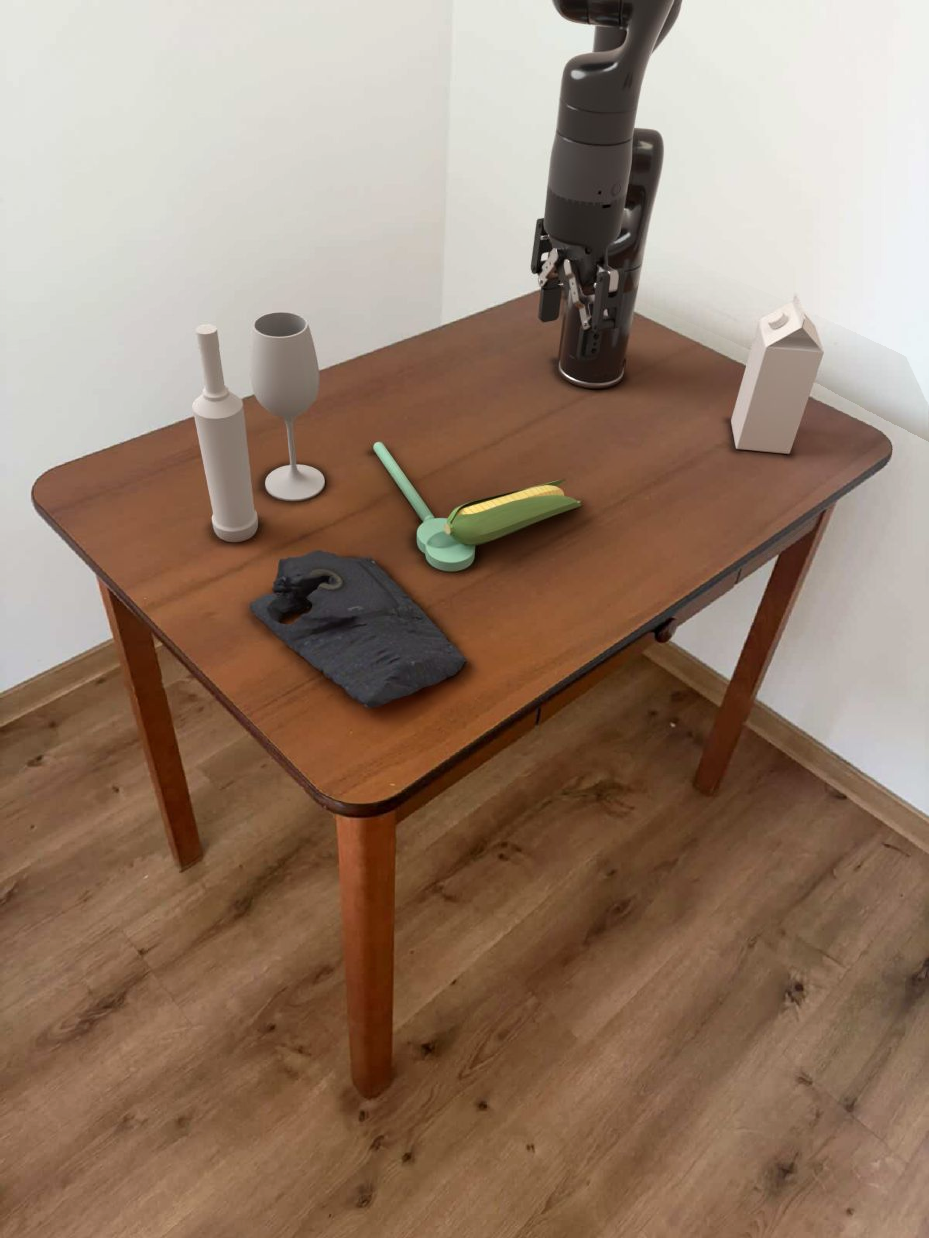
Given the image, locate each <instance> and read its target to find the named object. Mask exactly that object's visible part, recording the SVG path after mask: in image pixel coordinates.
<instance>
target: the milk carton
mask: <svg viewBox="0 0 929 1238" xmlns="http://www.w3.org/2000/svg"><path fill="white" fill-rule="evenodd" d="M800 301H801V300H800V298H799V295H798V292H795V293H794V295H793V299H792V300H791V301H789V302H788V303H786V304H784V305H782V306H780V307H779V308H777V309H776V310H774V311H772V312H771V313H768V314H766V315H765V316H763V317H761V318H760V319H759V320H758V322H757V326H756V330H755V333H754V336H753V341H752V344H751V347H750V351H749V353H748V359H747V362H746V366H745V368H744V372H743V377H742V379H741V383H740V387H739V391H738V394H737V398H736V401H735V405H734V408H733V412H732V416H731V419H730V423H731V429H732V434H733V440H734V445H735V449H737V450H744V451H745V450H746V451H747V450H748V451H755V452H765V453H776V454H785V455H786V454H787V455H789V454H791V451H792V448H793V445H794V442H795V439H796V436H797V433H798V430H799V428H800V424H801V421H802V418H803V416H804V413H805V410H806V406H807V404H808V400H809V397H810V395H811V392H812V389H813V386H814V383H815V380H816V376H817V373H818V372H819V368H820V365H821V362H822V359H823V356H824V353H825V352H824V347H823V346H822V343H821V339H820V336H819V334H818V331H817V327H816V326H815V323H814V322H813V321H812V319H810V317H809V316H808V315H807V314H806V313H805V312H804V310H803V307H802V304H801V302H800Z"/></svg>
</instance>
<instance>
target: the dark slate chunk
mask: <svg viewBox="0 0 929 1238" xmlns="http://www.w3.org/2000/svg"><path fill="white" fill-rule="evenodd" d="M275 575H276V576H275V580H274V581H273V585H272V589H271V591H272V592H273V593H265V594H263V595H262V596H260V597H257V598H255V599H254V600H252V601H250V602H249V610H250V612H253V613H254V615H255V616H256V617H257V619H259V620H260V621H262V622H263V623H264V624H265V626H266V627H268V629H270V630H271V631H272V632H273V633H274V634H275V635H276V636H277V637H278V638H279V639H280V640H281V642H285V644H286V646H287V647H289V648H290V649H293V650H294V652H295V653H296V654H299V655H300V657H302V658H304V659H305V660H306V661H307V662H308V663H309V664H310V665H311V666H312V667H313V668H314V669H315V670H318V671H319V672H321V673H323V674H324V676H325V677H326V678H327V679H329V680H331V681H332V682H333V683H335V684H336V685H337V686H338V687H339V688H341V689H343V690H345V692H346V693H347V694H348V695H349V696H350V697H351V698H352V699H353V700H354V701H355V702H358V703H359V704H361V705H363V706H364V707H365V708H369V709H376V708H378V707H381V706H383V705H385V704H388V703H390V702H392V701H395V700H398V699H401V698H403V697H407V696H411V695H412V694H414V693H417V692H418V691H420V690H422V689H423V688H428V687H429V688H430V687H433V686H436V685H437V684H439V683H440V682H443V681H444V680H446V679H447V678H451V677H453V676H456V674H457V673H458V672H460V671H461V669H462V668H463V665H465V664H467V663H468V662H469V661H468V659H467V658H466V657H465V656H464V654H463V653H462V652H461V651H460V649H459V648H458V647H456V645H454V644H453V643H452V642H450V641H449V640H448V639H447V636H446V635H445V634H444V633H442V632H441V629H440V628H439V627H438V626H436V625H435V624H434V622H433V621H432V620H431V619H430V617H428V616H427V613H425V611H424V610H422V609H421V607H419V605H417V604H416V603H415V602H414V601H412V598H411V597H410V596H409V594H408V593H405V592H404V590H403V589H402V588H401V587H400V586H399V585H398V583H396V582H395V581H394V580H393V579H391V578H390V576H389V575H388V574H387V572H386V571H385V570H383V569H382V568H381V567H380V566H379V565H378V564H377V563H376V561H374V560H373V558H372V557H371V556H368V557H357V558H356V557H349V558H348V557H340V555H337V554H336V553H334V552H329V551H324V550H322V549H317V550H313V551H310V552H307V553H305V554H302V555H299V556H288V557H286V558H280V559H279V561H278V567H277V572H276V574H275ZM310 607H311V608H310ZM309 608H310V611H307V612H306V613H302V614H301V615H300V617H299V618H297V619H295V620H294V624H287V623H280V622H281V621H282V619H283V618H285V617H289V616H291V615H292V614H295V613H301V612H302V611H305V610H308V609H309Z"/></svg>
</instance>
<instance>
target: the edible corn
mask: <svg viewBox="0 0 929 1238" xmlns="http://www.w3.org/2000/svg"><path fill="white" fill-rule="evenodd" d="M564 482H566V479H565V478H562V479H558V480H554V481H551V482H546V483H542V484H539V485H534V486H531V487H526V488H523V489H518V490H514V491H510V492H506V493H501V494H497V495H491V496H487V497H484V498H480V499H475V500H471V501H469V502H466V503H464V504H461V505H458V506H457V507H455V508H454V509H453V510H452V511H451V513H450V514H449V516H448V517H447V518H446V519H447V523H446V524H445V525H444V530H445V532H446V534H448V535H451V536H452V538H453V539H454V540H456V541H457V542H458V543H460V544H463V545H467V546H475V547H476V546H479V545H484V544H487V543H489V542H491V541H496V540H497V539H500V538H502V537H505V536H507V535H511V534H512V533H515V532H517V531H520V530H522V529H525V528H527V527H530V526H532V525H535V524H537V523H540V522H542V521H544V520H547V519H549V518H551V517H554V516H556V515H559V514H562V513H565V512H568V511H570V510H573V509H576V508H579V507H583V504H581V500H576V499H575V498H574V497H572V496H566V495H565V493H564V490H563V489H561V488H560V487H558V486H559V485H560V484H562V483H564Z"/></svg>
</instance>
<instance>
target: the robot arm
mask: <svg viewBox="0 0 929 1238" xmlns="http://www.w3.org/2000/svg"><path fill="white" fill-rule="evenodd" d="M551 2H552V5H553V8H554V9H555V11H556V13H557V14H559V16H560V17H561V18H562V19H564V20H566V21H568V22H571V23H573V24H574V23H575V24H580V25H588V26H594V33H593V40H592V41H593V43H592V52H587V53H582V54H578V55H575V56H573V57H572V58H570V59H568V61H567V62H566V64H565V66H564V67H563V71H562V73H561V80H560V89H559V99H558V105H557V106H558V107H557V116H556V117H557V118H556V125H555V126H556V128H555V133H554V139H553V143H552V146H551V147H552V148H551V150H550V158H549V166H548V167H549V168H548V177H547V186H546V195H545V198H546V199H545V206H544V215H543V217H540V218H537V219H536V222H535V229H534V236H533V237H534V238H533V245H532V253H531V259H530V260H531V261H530V271H531V274H533V275H537V284H538V286H539V288H540V295H539V303H538V314H537V317H538V319H539V320H540V321H541V323H548V322H553V321H557V320H558V318H559V317H560V309H561V302H562V293H563V292H562V291H563V288H564V291H565V296H566V300H565V302H564V307H563V314H562V322H561V331H560V338H559V346H558V354H557V363H558V373H559V375H560V376H561V377H562V378H563V379H564V381H567V382H568V383H570V384H572V385H574V386H577V387H581V388H586V389H595V390H597V389H607V388H610V387H613V386H616V385H617V384H619V383H620V382H621V381H622V379H623V378H624V372H625V370H624V369H625V365H626V363H627V352H628V347H629V341H630V335H631V329H632V323H633V319H634V313H635V307H636V302H637V297H638V291H639V285H640V280H641V273H642V268H643V263H644V257H645V252H646V245H647V241H648V235H649V229H650V224H651V219H652V215H653V209H654V205H655V202H656V198H657V194H658V189H659V187H660V182H661V176H662V172H663V166H664V158H665V144H664V139H663V136H662V134H661V133H660V131H658V130H657V129H654V128H653V129H652V128H643V127H635V125H636V120H637V113H638V107H639V101H640V96H641V91H642V87H643V82H644V78H645V74H646V71H647V67H648V65H649V61H650V59H651V56H653V54H654V53H655V52H656V51H657V49H658V48H659V47H660V46H661V44H662V43H663V42H664V40H665V39H666V38H667V36H668V35H669V33H670V32H671V30H672V29H673V27H674V25H675V24H676V22H677V20H678V18H679V16H680V13H681V10H682V3H683V0H551ZM543 254H547V259H544V260H543V259H542V257H543ZM561 285H563V287H562V286H561Z"/></svg>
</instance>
